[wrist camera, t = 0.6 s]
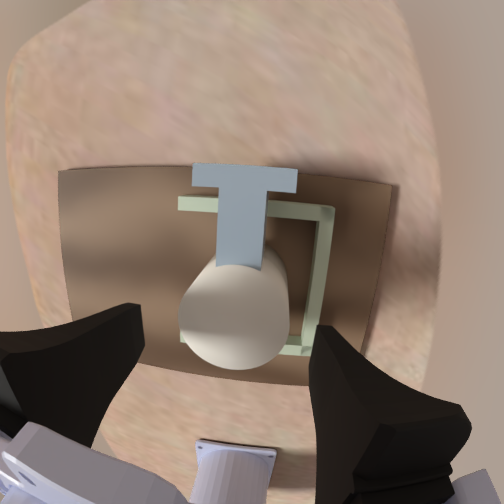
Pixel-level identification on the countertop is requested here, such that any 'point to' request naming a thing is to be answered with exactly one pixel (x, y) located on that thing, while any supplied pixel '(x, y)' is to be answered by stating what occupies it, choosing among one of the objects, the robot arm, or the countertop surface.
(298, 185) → the board
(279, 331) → the white blue t-bar grip
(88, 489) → the robot arm
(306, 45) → the countertop surface
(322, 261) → the cradle
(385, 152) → the countertop surface
